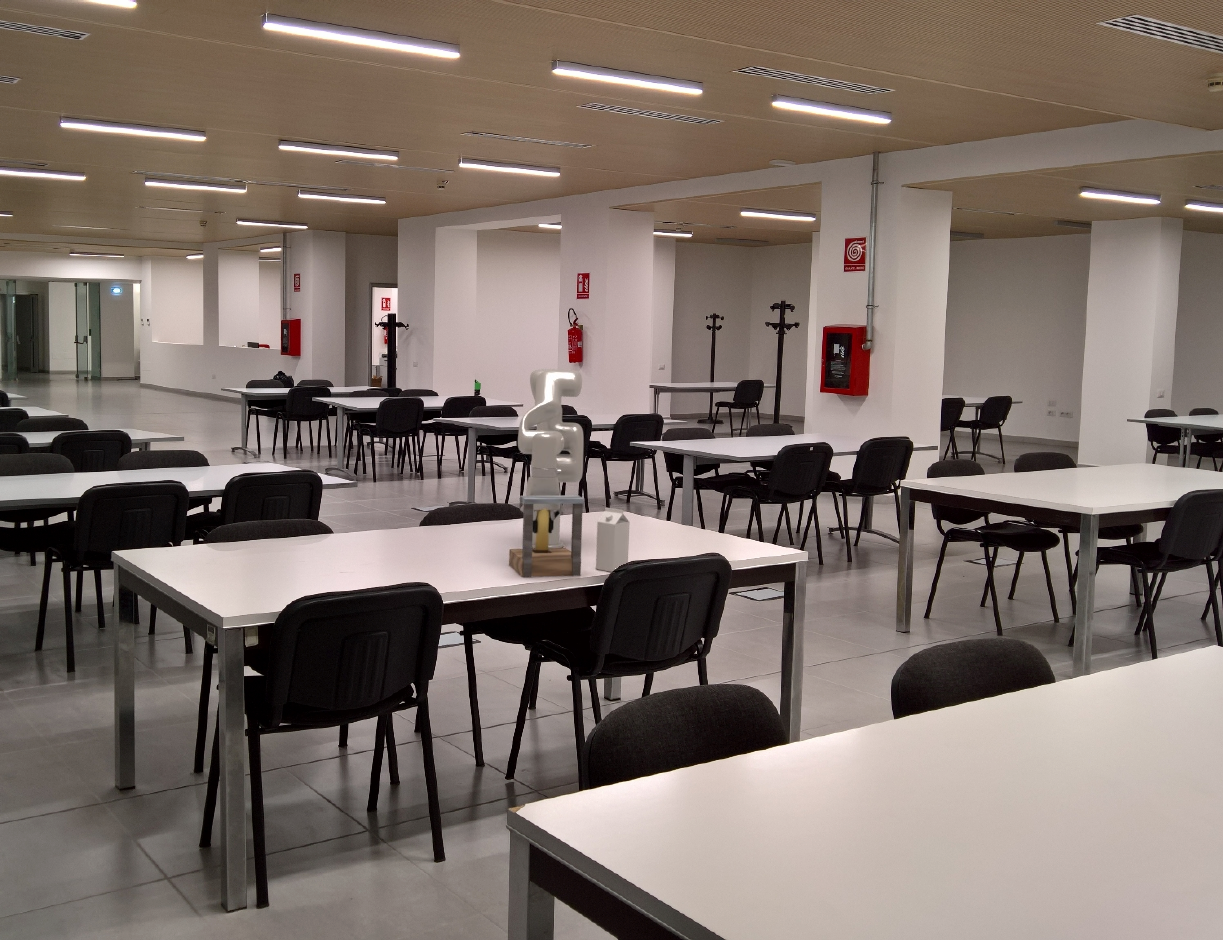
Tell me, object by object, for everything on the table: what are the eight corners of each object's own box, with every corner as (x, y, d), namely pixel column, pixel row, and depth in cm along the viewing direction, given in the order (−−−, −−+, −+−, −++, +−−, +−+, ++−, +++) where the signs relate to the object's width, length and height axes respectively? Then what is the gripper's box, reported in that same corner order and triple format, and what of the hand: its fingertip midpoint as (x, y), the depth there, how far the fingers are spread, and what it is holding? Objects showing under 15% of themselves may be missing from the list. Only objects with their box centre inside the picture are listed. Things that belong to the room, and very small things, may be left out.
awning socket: (509, 564, 348) (511, 490, 346) (565, 563, 354) (567, 489, 351) (523, 577, 330) (525, 499, 327) (581, 576, 335) (584, 498, 333)
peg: (533, 547, 347) (535, 503, 345) (546, 547, 348) (547, 503, 346) (536, 550, 343) (538, 505, 341) (549, 550, 344) (551, 504, 343)
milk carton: (610, 566, 352) (612, 506, 350) (627, 569, 347) (630, 509, 345) (595, 569, 346) (597, 508, 344) (613, 572, 342) (615, 511, 340)
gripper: (567, 472, 349) (565, 530, 351) (514, 472, 344) (512, 530, 346) (573, 474, 342) (571, 534, 344) (519, 474, 337) (518, 535, 339)
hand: (542, 531), depth 345 cm, fingers closed on peg, 4 cm apart
